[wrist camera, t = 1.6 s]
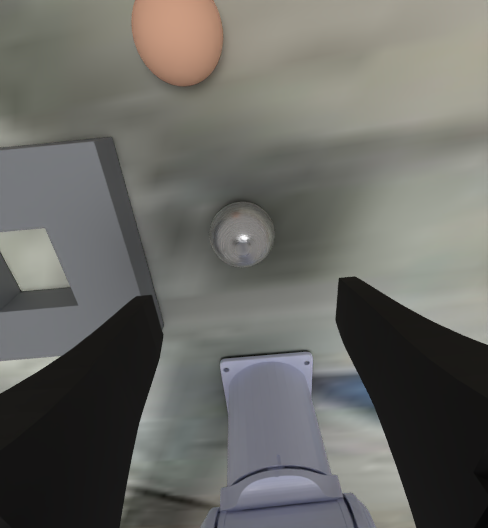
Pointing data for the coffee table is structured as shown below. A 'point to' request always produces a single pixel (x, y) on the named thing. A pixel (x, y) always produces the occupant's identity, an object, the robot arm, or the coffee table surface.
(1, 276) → the grey square frame
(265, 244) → the steel ball
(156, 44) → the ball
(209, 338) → the coffee table surface
